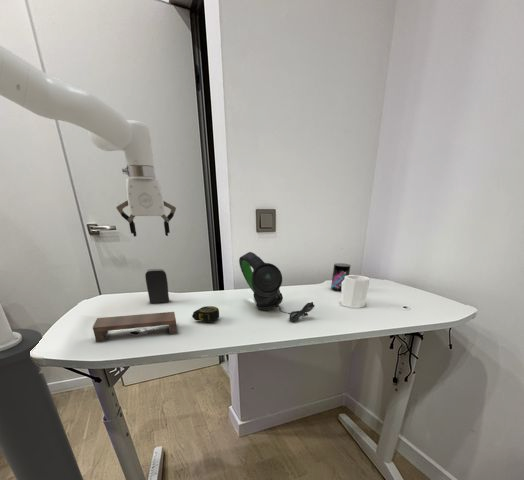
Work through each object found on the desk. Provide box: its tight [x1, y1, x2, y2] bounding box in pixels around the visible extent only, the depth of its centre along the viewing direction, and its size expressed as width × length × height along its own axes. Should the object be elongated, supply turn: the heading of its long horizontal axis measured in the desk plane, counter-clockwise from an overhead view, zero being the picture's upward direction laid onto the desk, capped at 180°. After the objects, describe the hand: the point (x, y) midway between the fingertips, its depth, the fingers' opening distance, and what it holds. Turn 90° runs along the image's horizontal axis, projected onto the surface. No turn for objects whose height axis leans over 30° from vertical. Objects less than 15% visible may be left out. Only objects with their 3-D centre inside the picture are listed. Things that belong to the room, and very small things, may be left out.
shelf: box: [92, 311, 178, 343], centre depth 79 cm, size 20×7×4 cm, turn 109°
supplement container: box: [330, 262, 352, 292], centre depth 122 cm, size 7×7×10 cm
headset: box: [238, 251, 315, 322], centre depth 95 cm, size 18×14×29 cm
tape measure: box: [191, 305, 220, 323], centre depth 88 cm, size 7×7×4 cm
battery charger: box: [144, 268, 170, 304], centre depth 101 cm, size 7×4×11 cm, turn 109°
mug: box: [340, 274, 370, 309], centre depth 106 cm, size 12×9×10 cm
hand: (151, 235), depth 94 cm, fingers open, 9 cm apart
